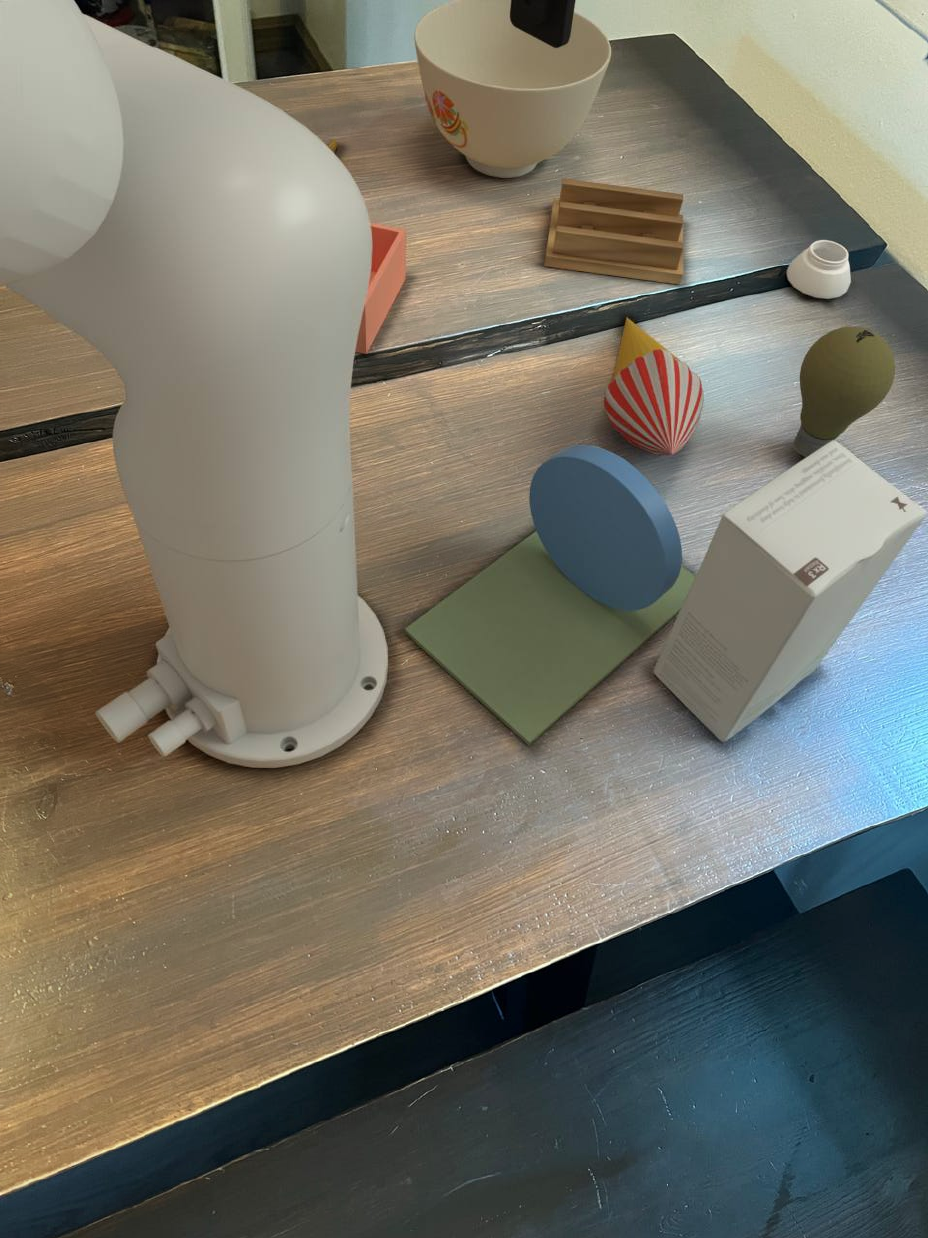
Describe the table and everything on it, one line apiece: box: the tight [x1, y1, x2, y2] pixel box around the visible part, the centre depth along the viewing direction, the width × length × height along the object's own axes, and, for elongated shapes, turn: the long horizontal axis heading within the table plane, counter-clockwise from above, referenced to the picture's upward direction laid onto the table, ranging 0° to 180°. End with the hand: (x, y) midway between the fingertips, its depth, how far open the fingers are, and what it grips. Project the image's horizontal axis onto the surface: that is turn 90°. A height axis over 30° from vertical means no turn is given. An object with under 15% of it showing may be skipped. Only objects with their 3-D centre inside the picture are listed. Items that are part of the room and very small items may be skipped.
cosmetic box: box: [652, 440, 928, 743], centre depth 49 cm, size 8×6×15 cm
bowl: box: [413, 0, 612, 179], centre depth 82 cm, size 16×16×10 cm
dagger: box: [326, 139, 340, 154], centre depth 82 cm, size 11×1×2 cm
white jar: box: [786, 239, 852, 300], centre depth 77 cm, size 5×3×5 cm
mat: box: [404, 530, 696, 746], centre depth 57 cm, size 16×10×1 cm, turn 135°
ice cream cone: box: [603, 317, 705, 456], centre depth 67 cm, size 6×6×20 cm
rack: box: [543, 178, 684, 285], centre depth 78 cm, size 8×11×3 cm
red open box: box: [355, 221, 407, 355], centre depth 69 cm, size 18×10×10 cm, turn 75°
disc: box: [528, 444, 683, 611], centre depth 54 cm, size 1×10×10 cm, turn 45°
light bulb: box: [793, 326, 896, 459], centre depth 63 cm, size 6×6×10 cm
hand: (608, 6), depth 45 cm, fingers open, 9 cm apart
